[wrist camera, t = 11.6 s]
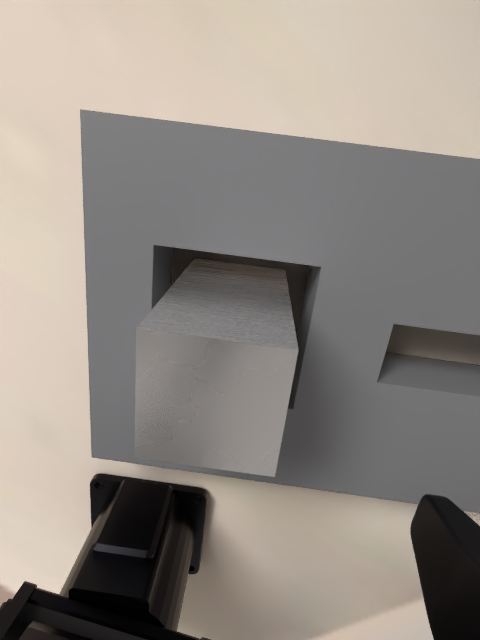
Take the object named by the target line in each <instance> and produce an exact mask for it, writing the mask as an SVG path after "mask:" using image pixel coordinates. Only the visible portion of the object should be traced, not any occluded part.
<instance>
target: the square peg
mask: <svg viewBox="0 0 480 640" xmlns="http://www.w3.org/2000/svg"><path fill="white" fill-rule="evenodd" d="M298 350H299V349H298V343H297V337H296V331H295V325H294V319H293V313H292V307H291V301H290V295H289V289H288V283H287V277H286V271H285V270H283V269H275V268H267V267H259V266H251V265H244V264H236V263H228V262H220V261H212V260H204V259H196V258H194V259H193V261H192V262H191V263H190V264H189V265H188V267H187V268H186V269H185V270H184V271H183V273H182V274H181V275H180V276H179V278H178V279H177V280H176V281H175V282H174V284H173V285H172V286H171V287H170V288H169V290H168V291H167V292H166V293H165V294H164V296H163V297H162V298H161V299H160V300H159V302H158V303H157V304H156V305H155V306H154V308H153V309H152V310H151V311H150V312H149V314H148V315H147V316H146V317H145V319H144V320H143V321H142V322H141V323H140V325H139V326H138V327H137V328H136V381H135V458H140V459H148V460H155V461H162V462H169V463H177V464H184V465H191V466H198V467H205V468H213V469H220V470H227V471H234V472H242V473H249V474H256V475H263V476H270V477H275V474H276V468H277V463H278V457H279V452H280V447H281V441H282V436H283V431H284V425H285V420H286V415H287V409H288V404H289V399H290V393H291V388H292V383H293V377H294V372H295V366H296V361H297V356H298Z"/></svg>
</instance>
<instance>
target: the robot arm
mask: <svg viewBox="0 0 480 640" xmlns="http://www.w3.org/2000/svg"><path fill="white" fill-rule="evenodd" d="M101 483H102V484H101ZM207 496H208V495H207V492H206V491H205V490H204V489H202V488H198V487H191V486H185V485H178V484H171V483H164V482H157V481H150V480H143V479H136V478H129V477H122V476H115V475H108V474H96V475H95V476H94V477H93V479H92V480H91V483H90V498H91V525H92V529H91V531H90V533H89V535H88V537H87V539H86V541H85V543H84V545H83V547H82V549H81V551H80V553H79V555H78V557H77V559H76V561H75V563H74V565H73V567H72V569H71V571H70V574H69V576H68V578H67V580H66V582H65V584H64V586H63V588H62V590H61V592H60V594H56V593H52V592H49V591H46V590H43V589H40V588H37V585H36V584H33V583H29V582H26V581H25V582H24V583H23V585H22V586H21V587H20V589H19V590H18V592H17V593H16V595H15V596H14V598H13V599H8V601H7V602H4V603H3V604H2V606H1V607H0V640H211V639H208V638H204V637H202V638H201V639H199V638H196V637H193V636H189V635H186V634H183V633H180V632H177V627H178V622H179V617H180V612H181V607H182V602H183V597H184V592H185V587H186V582H187V577H188V574H196V573H197V572H198V570H199V566H200V558H201V549H202V540H203V531H204V523H205V514H206V505H207ZM197 497H200V498H197ZM411 539H412V544H413V549H414V554H415V558H416V563H417V568H418V573H419V578H420V583H421V587H422V592H423V597H424V602H425V606H426V611H427V615H428V620H429V623H430V628H431V631H432V635H433V638H434V640H480V526H479V525H478V524H477V523H476V522H474V521H473V520H472V519H471V518H470V517H469V516H468V515H467V514H466V513H464V512H463V511H462V510H461V509H460V508H459V507H458V506H457V505H455V504H454V503H453V502H452V501H451V500H450V499H448V498H447V497H444V496H439V495H432V494H425V495H424V496H422V498H421V500H420V502H419V505H418V507H417V510H416V513H415V515H414V518H413V520H412V523H411Z"/></svg>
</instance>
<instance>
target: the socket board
mask: <svg viewBox="0 0 480 640" xmlns="http://www.w3.org/2000/svg"><path fill="white" fill-rule="evenodd" d="M80 118H81V148H82V178H83V208H84V238H85V269H86V299H87V329H88V359H89V389H90V420H91V450H92V457H93V458H100V459H107V460H114V461H121V462H128V463H135V464H142V465H149V466H156V467H163V468H170V469H177V470H184V471H191V472H198V473H205V474H212V475H219V476H226V477H233V478H240V479H247V480H254V481H261V482H268V483H275V484H282V485H289V486H296V487H303V488H310V489H317V490H324V491H331V492H338V493H345V494H352V495H359V496H366V497H373V498H380V499H387V500H394V501H401V502H408V503H414V504H419V502H420V500H421V498H422V496H424V495H425V494H432V495H439V496H444V497H447V498H448V499H450V500H451V501H452V502H453V503H454V504H455V505H457V506H458V507H459V508H460V509H461V510H463V511H470V512H477V513H480V365H473V364H465V363H458V362H451V361H443V360H436V359H428V358H421V357H414V356H406V355H399V354H392V353H386V349H387V346H388V342H389V339H390V335H391V332H392V328H393V325H394V324H398V325H405V326H413V327H420V328H428V329H435V330H443V331H450V332H458V333H465V334H473V335H480V159H473V158H465V157H457V156H449V155H441V154H433V153H425V152H417V151H409V150H401V149H393V148H385V147H377V146H369V145H361V144H353V143H345V142H337V141H328V140H320V139H312V138H304V137H296V136H288V135H280V134H272V133H264V132H256V131H248V130H240V129H232V128H224V127H216V126H208V125H200V124H192V123H184V122H176V121H168V120H160V119H152V118H144V117H136V116H128V115H119V114H111V113H103V112H95V111H87V110H80ZM172 247H174V248H182V249H189V250H197V251H204V252H212V253H220V254H227V255H235V256H243V257H250V258H258V259H265V260H273V261H281V262H288V263H296V264H303V265H310V267H309V272H308V277H307V283H306V288H305V293H304V299H303V304H302V309H301V315H300V320H299V325H298V331H297V336H296V337H297V343H298V349H299V350H298V356H297V361H296V366H295V372H294V377H293V383H292V388H291V393H290V399H289V404H288V409H287V415H286V420H285V425H284V431H283V436H282V441H281V447H280V452H279V457H278V463H277V468H276V474H275V477H270V476H263V475H256V474H249V473H242V472H234V471H227V470H220V469H213V468H205V467H198V466H191V465H184V464H177V463H169V462H162V461H155V460H148V459H140V458H135V381H136V328H137V327H138V326H139V325H140V323H141V322H142V321H143V320H144V319H145V317H146V316H147V315H148V314H149V312H150V311H151V310H152V309H153V308H154V306H155V305H156V304H157V303H158V302H159V300H160V299H161V298H162V297H163V296H164V294H165V293H166V292H167V291H168V290H169V288H170V281H171V261H172Z"/></svg>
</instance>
